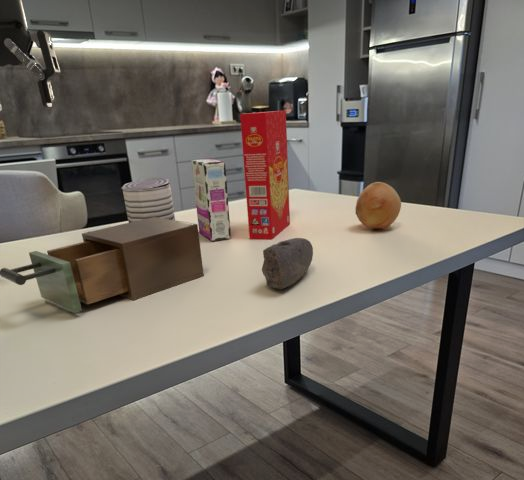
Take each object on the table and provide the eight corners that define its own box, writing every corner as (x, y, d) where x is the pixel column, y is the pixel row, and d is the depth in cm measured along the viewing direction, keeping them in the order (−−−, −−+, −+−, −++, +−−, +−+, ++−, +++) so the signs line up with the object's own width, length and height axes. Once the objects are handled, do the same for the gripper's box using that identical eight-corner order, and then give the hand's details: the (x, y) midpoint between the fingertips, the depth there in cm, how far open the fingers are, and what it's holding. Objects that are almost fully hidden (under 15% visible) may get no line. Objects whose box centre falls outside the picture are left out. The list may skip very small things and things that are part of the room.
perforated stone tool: (298, 265, 87) (296, 227, 83) (324, 269, 84) (324, 229, 81) (254, 293, 75) (251, 249, 72) (283, 297, 73) (281, 252, 70)
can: (186, 229, 119) (179, 178, 114) (149, 239, 112) (140, 186, 107) (157, 224, 126) (149, 177, 121) (121, 234, 119) (111, 183, 113)
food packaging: (272, 239, 105) (265, 112, 94) (249, 238, 107) (240, 114, 96) (289, 224, 118) (285, 110, 106) (269, 223, 119) (263, 112, 108)
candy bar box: (232, 238, 108) (226, 160, 100) (211, 242, 106) (203, 163, 99) (218, 229, 117) (211, 157, 110) (198, 232, 116) (189, 159, 108)
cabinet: (132, 300, 76) (121, 243, 71) (93, 285, 84) (81, 233, 80) (203, 275, 85) (197, 224, 81) (162, 264, 93) (154, 216, 89)
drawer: (36, 326, 66) (20, 275, 63) (4, 308, 73) (-11, 261, 70) (152, 287, 78) (144, 242, 75) (115, 274, 85) (106, 234, 82)
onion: (408, 230, 105) (411, 182, 100) (365, 235, 103) (367, 187, 98) (387, 222, 113) (390, 177, 109) (348, 226, 111) (349, 181, 107)
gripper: (48, -10, 75) (73, 106, 82) (-41, -3, 75) (-9, 111, 83) (27, -22, 68) (56, 106, 76) (-71, -14, 69) (-33, 112, 76)
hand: (22, 109), depth 79 cm, fingers open, 8 cm apart
